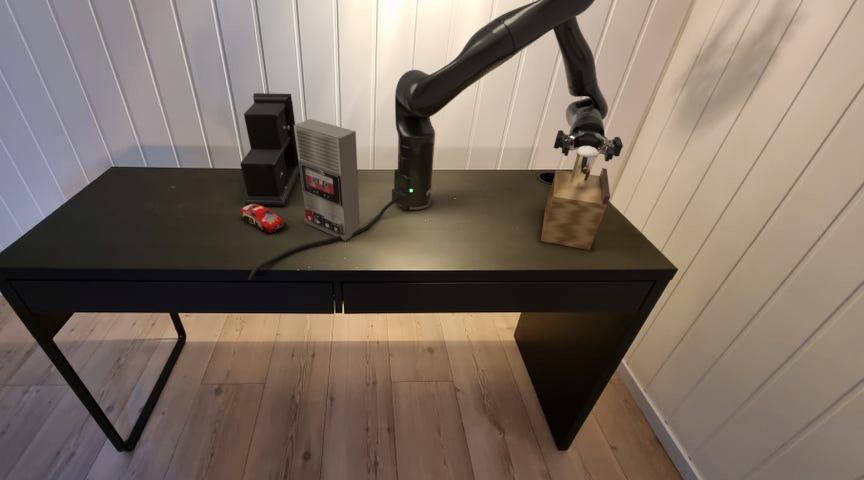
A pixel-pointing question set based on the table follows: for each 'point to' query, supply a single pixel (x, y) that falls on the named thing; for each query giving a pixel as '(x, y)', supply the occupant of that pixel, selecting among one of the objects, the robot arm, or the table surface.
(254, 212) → the race car
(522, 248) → the table surface
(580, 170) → the milkshake
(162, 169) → the table surface
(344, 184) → the cassette tape recorder
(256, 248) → the table surface
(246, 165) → the bookend
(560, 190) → the block
